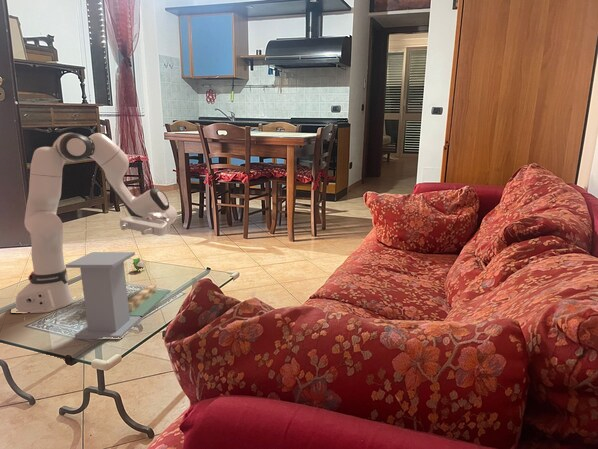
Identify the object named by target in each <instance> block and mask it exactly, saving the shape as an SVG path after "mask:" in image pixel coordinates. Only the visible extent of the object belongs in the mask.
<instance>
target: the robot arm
mask: <svg viewBox="0 0 598 449" xmlns="http://www.w3.org/2000/svg"><path fill="white" fill-rule="evenodd" d="M31 158H32V159H31V162H30V163H31V164H30V170H29V184H28V185H29V186H28V196H27V201H26V205H25V206H26V208H25V214H24V220H23V222H24V228H25V229H26V230H27V231H28V233H30V239H31V240H30V241H31V244H30V245H31V253H30V254H31V255H30V256H31V261H32V262H31V263H32V269H33V270H32V272H30V274H29V276H28V277H27V278H28V281H29V283H28V284H27V285H25V286H24V287H23V288H22V289H21V290H20V291H18V293H17V294H16V297H15V304H16V309H17V310H18V311H16V312H30V313H29V314H39V313H41V314H42V313H50V312H53V311H55V310H58V309H62V308H65V307H68V306H69V305H71V304H73V303H74V301H75V300H74V298H73V295H72V293H71V291H70V287H69V283H68V282H69V278H68V271H67V268H66V264H65V259H64V252H63V249H64V248H63V245H64V244H63V242H64V233H63V232H64V225H63V221H62V219H61V218H60V216H58V215H57V212H58V207H59V203H60V199H61V196H62V184H63V168H64V166H65V165H66V164H65V163H66V162H68V161H70V162H78V161H82V160H84V159H86V158H91V159H92V160H94V161H95V162H96V164H98V166H99V167H100V168H101V169H102V170H103V172H104V174H105V177H104V178H105V180H106V182H107V184H108V186H109V188H111V190H112V191H113V193H114V194H115V195H116V196H117V198H118V199H119V201H120V202H121V203H122V205H124V207H125V208H126V211H127V213H128V214H129V215H130V216H125V217H122V218H120V220H119V226H120V230H121V231H127V230H131V231H135V232H141V233H140V234H141V235H142V236H146V235H154V236H159V237H163V236H164V235H167V234H169V233H170V228H171V227H170V226H171V225H172V224H173V223H174V222H175V221H176V219H177V217H178V211H177V209H176V207H174V205H171V204H170V202H169V199H168V197H167V195H166V193H164V192H163V191H162V190H160V189H159V188H157V187H155V188H154V187H152V188H151V189H149V190H147V191H145V192H144V193H141V194H140V195H138V196H134V195H133V194H132V193H131V191H130V190H129V189H128V187H127V186H126V185H125V183H124V176H125V174H127V172H128V169H129V166H130V161H129V157H128V156H127V154H126V153H125V152H124V151H123V150H122V149H121V148H120V147H119V146H118V144H116V143H115V142H114V141H113V140H112V139H111V138H109V137H108V136H107V135H105V134H104V133H101V132H96V133H93V134H91V135H90V136H85V135H83V134H80V133H77V132H75V133H74V132H65V133H63V134H60V135H59V136H58V137H57V138H55V140H54V141H53V142H52V144H51V145H50V146H41V147H38V148H36V149H35V150H34V151H33V155H32V157H31Z"/></svg>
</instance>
